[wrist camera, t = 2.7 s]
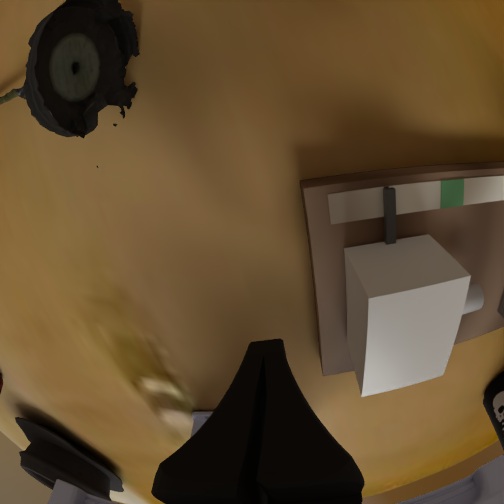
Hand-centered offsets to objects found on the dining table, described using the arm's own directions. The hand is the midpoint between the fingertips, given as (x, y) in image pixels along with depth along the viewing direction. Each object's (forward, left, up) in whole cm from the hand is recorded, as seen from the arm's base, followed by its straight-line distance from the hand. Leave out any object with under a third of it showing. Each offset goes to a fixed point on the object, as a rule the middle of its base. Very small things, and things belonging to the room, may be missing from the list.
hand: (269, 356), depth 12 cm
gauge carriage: (+7, +1, -3) cm, 8 cm away
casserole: (-37, -29, -5) cm, 47 cm away
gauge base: (+11, 0, -5) cm, 13 cm away
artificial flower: (-15, +14, -5) cm, 22 cm away
